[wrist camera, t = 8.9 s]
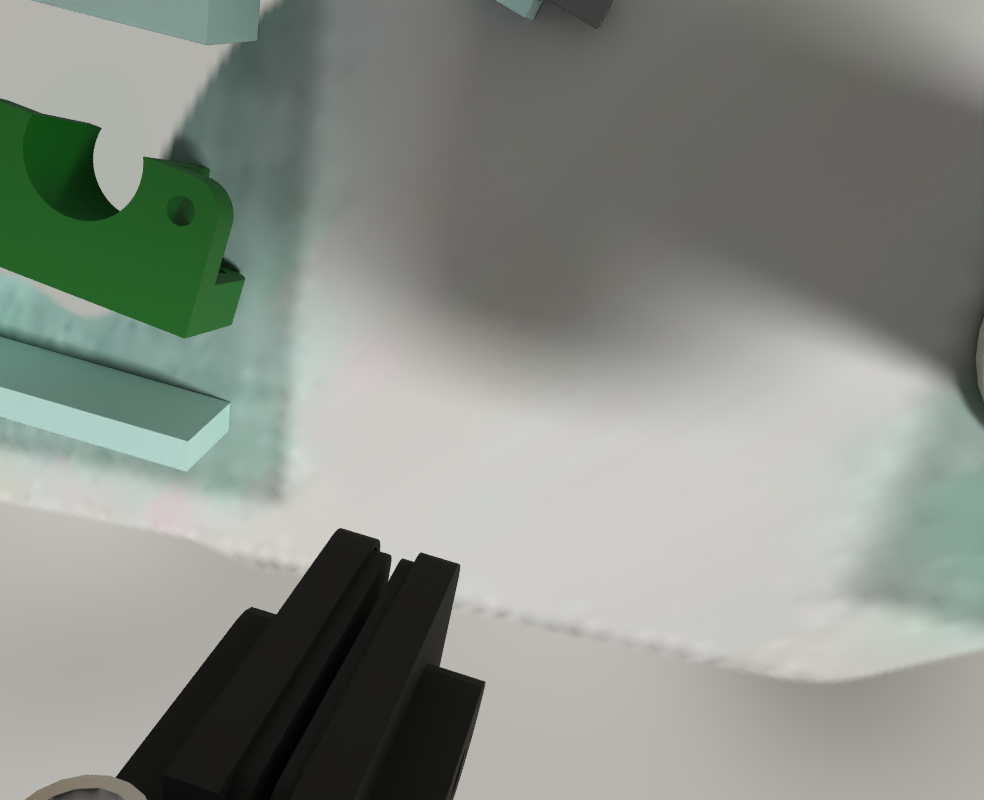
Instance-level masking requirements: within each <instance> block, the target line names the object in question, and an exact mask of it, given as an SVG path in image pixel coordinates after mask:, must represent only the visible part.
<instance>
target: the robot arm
mask: <svg viewBox="0 0 984 800" xmlns="http://www.w3.org/2000/svg"><path fill="white" fill-rule="evenodd" d="M976 369H977V379H978V387H979V390H980V393H981V396H982V399H983V401H984V319H983V322H982V324H981V327H980V330H979V337H978V345H977V352H976ZM390 566H391V555H389V554H386V553H383V552H380V541H379V540H378V539H375V538H372V537H368V536H365V535H362V534H358V533H355V532H352V531H349V530H345V529H342V528H340V529H338V530H337V531H336V532H335V533H334V534H333V536H332V537H331V538H330V540H329V541H328V543H327V544H326V545H325V547H324V548H323V550H322V551H321V552H320V554H319V555H318V557H317V558H316V559H315V561H314V562H313V564H312V565H311V567H310V568H309V569H308V571H307V572H306V574H305V575H304V576H303V578H302V579H301V581H300V582H299V583H298V585H297V586H296V588H295V589H294V591H293V592H292V594H291V595H290V596H289V598H288V599H287V600H286V602H285V603H284V605H283V606H282V607H281V609H280V610H279V612H278V613H277V614H273V613H269V612H266V611H263V610H260V609H257V608H253V607H251V608H249V609H247V610H245V611H244V612H243V614H242V615H241V616H240V617H239V618H238V619H237V620H236V622H235V623H234V624H233V625H232V627H231V628H230V629H229V631H228V632H227V634H226V635H225V636H224V637H223V639H222V640H221V641H220V642H219V644H218V645H217V646H216V648H215V649H214V650H213V652H212V653H211V654H210V655H209V657H208V658H207V659H206V661H205V662H204V663H203V664H202V666H201V667H200V668H199V670H198V671H197V672H196V674H195V675H194V676H193V677H192V679H191V680H190V681H189V683H188V684H187V685H186V687H185V688H184V689H183V691H182V692H181V693H180V694H179V696H178V697H177V698H176V700H175V701H174V702H173V704H172V705H171V706H170V707H169V709H168V710H167V711H166V713H165V714H164V715H163V717H162V718H161V719H160V720H159V722H158V723H157V724H156V726H155V727H154V728H153V729H152V731H151V732H150V733H149V735H148V736H147V737H146V739H145V740H144V741H143V742H142V744H141V745H140V746H139V748H138V749H137V750H136V752H135V753H134V754H133V755H132V757H131V758H130V760H129V761H128V762H127V763H126V765H125V766H124V767H123V769H122V770H121V771H120V773H119V774H118V775H117V776H116V778H115V777H112V776H103V775H102V776H100V775H83V776H78V777H73V778H68V779H63V780H60V781H58V782H56V783H53V784H51V785H49V786H47V787H44V788H42V789H40V790H38V791H36V792H35V793H33V794H32V795H31V796H30V797H28V798H27V799H25V800H453V798H454V795H455V792H456V789H457V786H458V782H459V779H460V776H461V773H462V769H463V766H464V763H465V759H466V756H467V752H468V749H469V745H470V742H471V738H472V734H473V731H474V727H475V723H476V719H477V716H478V712H479V708H480V703H481V700H482V696H483V691H484V687H485V682H484V681H481V680H478V679H475V678H472V677H468V676H466V675H462V674H460V673H457V672H453V671H450V670H447V669H444V668H441V667H439V666H440V662H441V657H442V652H443V648H444V643H445V638H446V634H447V629H448V624H449V619H450V615H451V610H452V605H453V601H454V596H455V591H456V587H457V582H458V577H459V572H460V564H457V563H454V562H451V561H447V560H444V559H441V558H437V557H434V556H431V555H428V554H424V553H420V554H419V555H418V556H417V558H416V560H415V562H412V561H409V560H406V559H401V560H400V562H399V563H398V565H397V567H396V569H395V570H394V572H393V574H392V576H391V578H390V579H389V581H388V578H389V572H390Z"/></svg>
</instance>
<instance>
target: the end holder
mask: <svg viewBox="0 0 984 800" xmlns="http://www.w3.org/2000/svg"><path fill="white" fill-rule="evenodd" d="M32 1H36V2H40V3H45V4H48V5H52V6H56V7H60V8H64V9H68V10H72V11H75V12H79V13H84V14H87V15H91V16H95V17H99V18H103V19H107V20H111V21H115V22H119V23H122V24H126V25H130V26H134V27H138V28H142V29H146V30H150V31H154V32H158V33H161V34H165V35H169V36H173V37H177V38H181V39H185V40H189V41H193V42H197V43H201V44H204V45H214V44H226V43H238V42H250V41H257V35H258V22H259V8H260V0H32ZM229 416H230V402H227V401H223V400H220V399H216V398H213V397H209V396H206V395H202V394H199V393H195V392H192V391H188V390H185V389H181V388H178V387H174V386H171V385H167V384H164V383H160V382H157V381H154V380H150V379H147V378H143V377H140V376H136V375H133V374H129V373H126V372H122V371H119V370H115V369H112V368H108V367H105V366H101V365H98V364H94V363H91V362H87V361H84V360H80V359H77V358H73V357H70V356H66V355H63V354H60V353H56V352H53V351H49V350H46V349H42V348H39V347H35V346H32V345H28V344H25V343H21V342H18V341H14V340H11V339H7V338H4V337H0V417H3V418H6V419H10V420H13V421H17V422H20V423H23V424H27V425H30V426H34V427H37V428H40V429H44V430H47V431H51V432H54V433H57V434H61V435H64V436H68V437H71V438H74V439H78V440H81V441H85V442H88V443H91V444H95V445H98V446H102V447H105V448H108V449H112V450H115V451H119V452H122V453H125V454H129V455H132V456H135V457H139V458H142V459H146V460H149V461H152V462H156V463H159V464H163V465H166V466H169V467H173V468H176V469H180V470H183V471H186V472H187V471H188V470H189V469H190V468H191V467H192V466H193V465H194V464H195V463H196V462H197V461H198V460H199V459H200V458H201V457H202V456H203V455H204V454H205V453H206V452H207V451H208V450H209V449H210V448H211V447H212V446H213V445H214V444H215V443H216V442H217V441H218V440H219V439H220V438H221V437H222V436H223V435H225V434H226V433H227V432H228V430H229Z"/></svg>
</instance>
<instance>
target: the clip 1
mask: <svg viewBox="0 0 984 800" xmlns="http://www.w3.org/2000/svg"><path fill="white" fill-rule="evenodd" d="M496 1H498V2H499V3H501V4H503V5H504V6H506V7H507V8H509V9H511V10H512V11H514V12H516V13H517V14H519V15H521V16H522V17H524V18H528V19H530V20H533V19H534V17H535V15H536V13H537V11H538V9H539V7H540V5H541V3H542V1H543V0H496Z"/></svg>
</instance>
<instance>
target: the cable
mask: <svg viewBox="0 0 984 800" xmlns="http://www.w3.org/2000/svg"><path fill="white" fill-rule="evenodd" d="M550 1H551V2H553V3H555V4H556V5H558V6H559V7H561V8H563V9H564V10H566V11H568V12H569V13H571V14H573V15H574V16H576V17H578V18H579V19H581V20H582V21H584V22H586V23H587V24H589V25H591V26H592V27H594V28H596V29H598V28H599V26H600V24H601V22H602V20H603V19H604V17H605V15H606V13H607V11H608V9H609V7H610V6H611V4H612V2H613V1H612V0H550Z"/></svg>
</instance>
